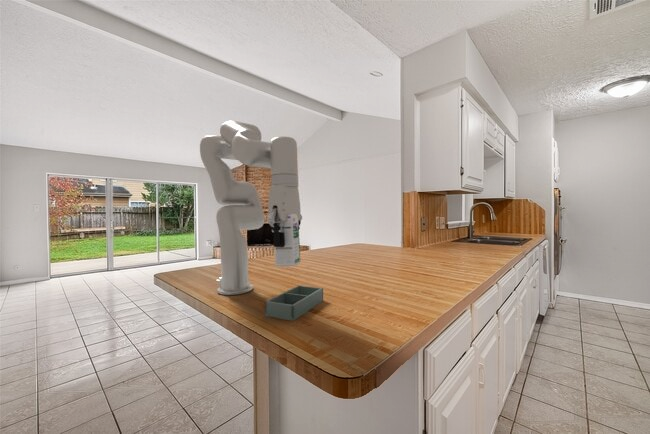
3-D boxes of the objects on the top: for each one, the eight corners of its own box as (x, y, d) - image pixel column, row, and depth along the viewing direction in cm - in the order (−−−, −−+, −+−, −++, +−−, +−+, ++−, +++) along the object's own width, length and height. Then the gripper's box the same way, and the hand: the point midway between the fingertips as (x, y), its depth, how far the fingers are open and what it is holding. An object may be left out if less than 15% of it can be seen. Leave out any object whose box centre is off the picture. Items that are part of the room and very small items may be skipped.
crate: (293, 320, 74) (292, 305, 74) (265, 315, 78) (265, 301, 78) (323, 300, 90) (323, 288, 90) (298, 297, 94) (298, 285, 94)
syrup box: (294, 266, 76) (292, 213, 76) (274, 266, 77) (272, 214, 77) (300, 262, 82) (299, 213, 81) (281, 262, 83) (279, 213, 82)
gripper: (290, 185, 88) (292, 241, 89) (253, 180, 73) (256, 249, 73) (311, 183, 85) (313, 242, 85) (277, 178, 69) (280, 249, 70)
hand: (287, 244), depth 79 cm, fingers closed on syrup box, 6 cm apart
